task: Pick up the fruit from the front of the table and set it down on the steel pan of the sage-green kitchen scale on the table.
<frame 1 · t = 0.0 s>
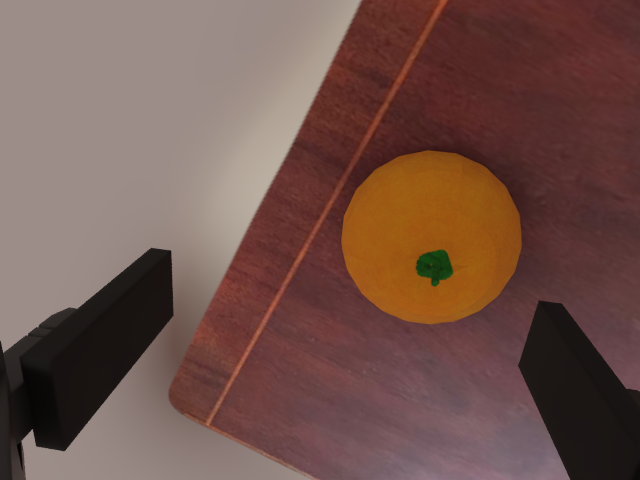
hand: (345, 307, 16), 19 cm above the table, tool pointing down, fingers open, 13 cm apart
fruit: (422, 219, 34), on the table
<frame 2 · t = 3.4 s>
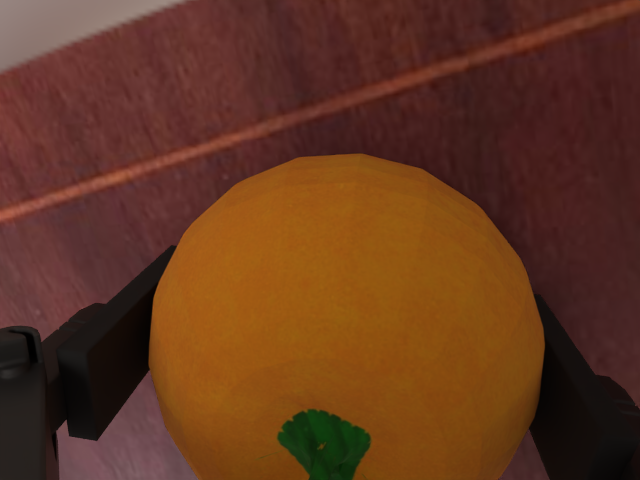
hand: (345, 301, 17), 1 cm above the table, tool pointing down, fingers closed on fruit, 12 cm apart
fruit: (348, 282, 18), on the table, touching gripper
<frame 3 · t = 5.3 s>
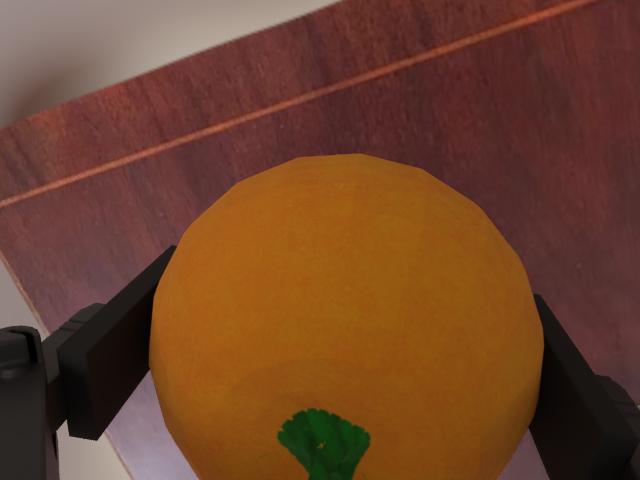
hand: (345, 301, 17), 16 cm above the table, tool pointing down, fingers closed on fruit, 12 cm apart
fruit: (348, 282, 18), point 14 cm above the table, touching gripper
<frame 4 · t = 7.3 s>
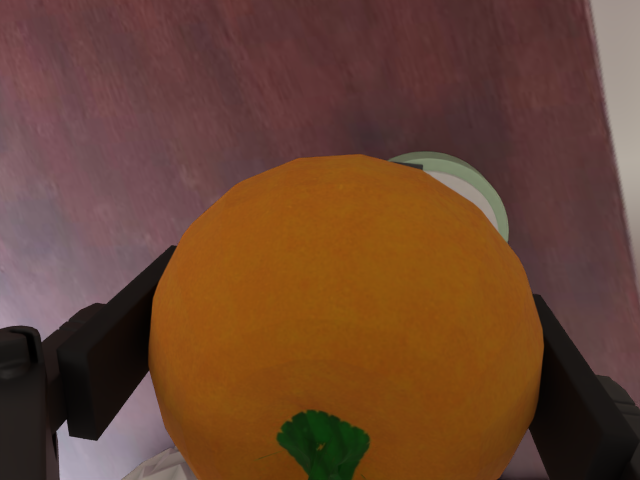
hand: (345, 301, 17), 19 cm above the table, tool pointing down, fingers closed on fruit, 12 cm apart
scale: (420, 227, 35), on the table
vase: (209, 467, 47), on the table
fruit: (348, 283, 18), point 17 cm above the table, touching gripper
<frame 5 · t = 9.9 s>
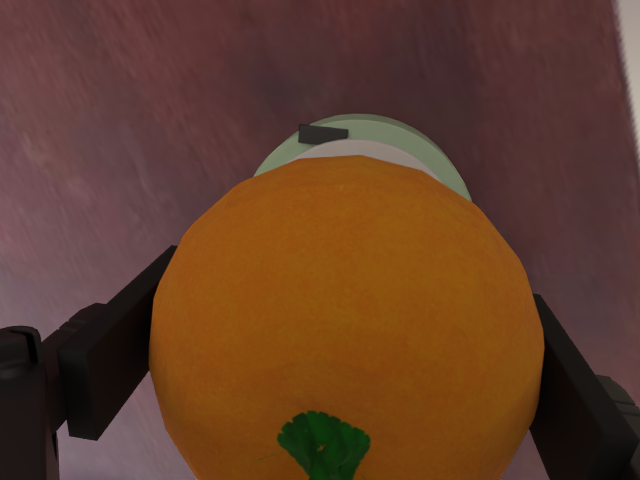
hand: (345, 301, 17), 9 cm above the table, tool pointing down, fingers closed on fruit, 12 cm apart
scale: (356, 223, 25), on the table
fruit: (348, 283, 18), point 7 cm above the table, touching gripper
when the fingers open (4 cm above the table, at t = 11.6 s): fruit stays where it is, resting on scale.
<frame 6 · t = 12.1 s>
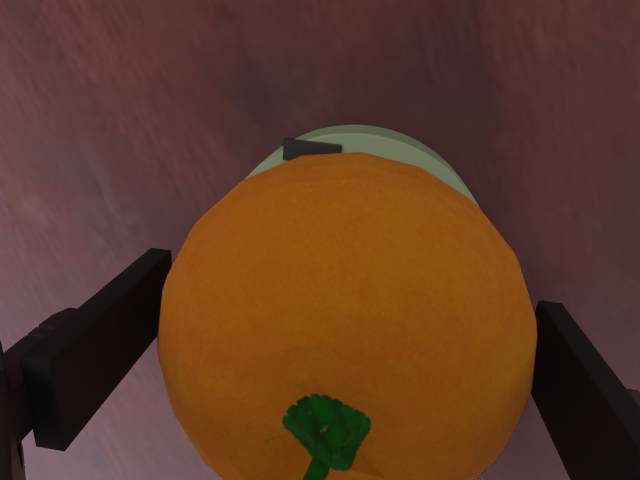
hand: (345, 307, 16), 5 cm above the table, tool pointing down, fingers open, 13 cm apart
scale: (352, 250, 21), on the table
fruit: (349, 278, 19), point 3 cm above the table, touching scale
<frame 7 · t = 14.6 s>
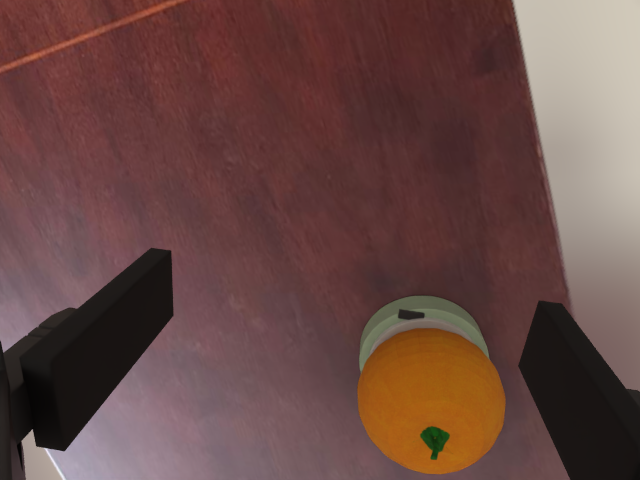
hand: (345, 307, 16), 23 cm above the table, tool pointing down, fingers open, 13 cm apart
scale: (420, 349, 44), on the table
fruit: (423, 367, 41), point 3 cm above the table, touching scale
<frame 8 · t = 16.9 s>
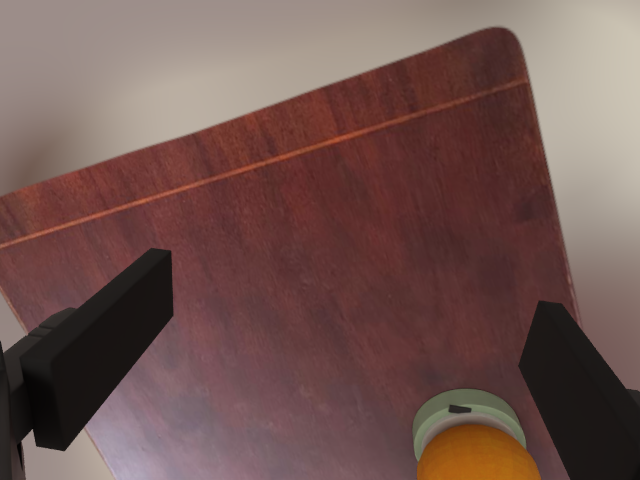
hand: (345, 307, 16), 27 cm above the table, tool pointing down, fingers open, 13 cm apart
scale: (464, 430, 51), on the table
fruit: (469, 451, 48), point 3 cm above the table, touching scale
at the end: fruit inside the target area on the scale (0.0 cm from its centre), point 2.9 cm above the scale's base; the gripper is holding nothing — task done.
